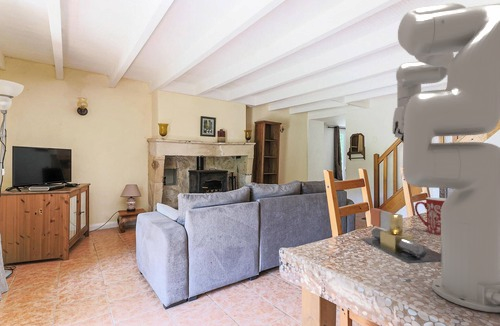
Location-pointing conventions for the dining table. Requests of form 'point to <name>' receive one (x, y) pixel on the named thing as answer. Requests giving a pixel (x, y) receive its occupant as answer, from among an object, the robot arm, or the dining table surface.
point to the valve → (401, 247)
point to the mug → (432, 214)
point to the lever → (387, 220)
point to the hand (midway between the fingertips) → (409, 153)
